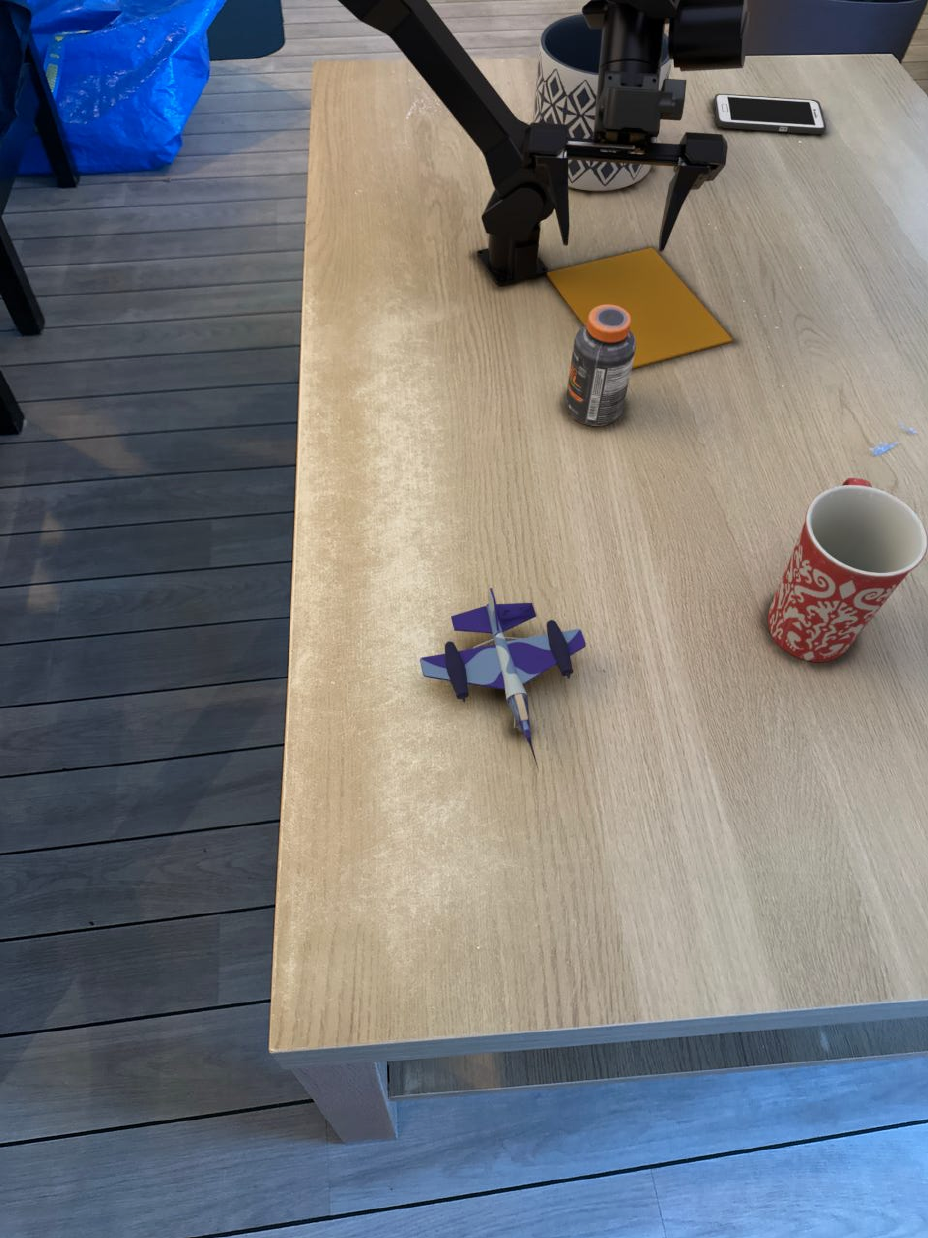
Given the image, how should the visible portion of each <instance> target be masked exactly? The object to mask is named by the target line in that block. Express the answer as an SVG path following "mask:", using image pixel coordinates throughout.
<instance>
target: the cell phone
mask: <svg viewBox="0 0 928 1238" xmlns="http://www.w3.org/2000/svg"><path fill="white" fill-rule="evenodd" d="M713 108H714V111H715V113H714V114H715V116H714V117H715V121H716V125H717V126H718V127H719V128H723V129H724V128H725V129H735V130H751V131H767V132H781V133H798V134H811V135H812V134H813V135H821V134H824V133H825V131H826V127H827V124H826V119H825V117H824V113H823V109H822V105H821V103H820V102H819V100H816V99H811V98H794V97H780V96H765V95H750V94H734V93H732V94H731V93H716V94H715V95H714V98H713Z"/></svg>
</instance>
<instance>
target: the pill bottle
mask: <svg viewBox="0 0 928 1238" xmlns="http://www.w3.org/2000/svg"><path fill="white" fill-rule="evenodd" d="M630 324H631V317H630V315H629V313H628V312H627V311H626V310H624V309H623V308H621V307H619V306H615V305H600V306H597V307H595V308H594V309H592V310H591V312H590V313H589V317H588V322H587V324H586V325H584V324H583V326H581V327H580V328H579V329H578V331H577V332H576V335H575V337H574V340H573V342H574V343H573V348H572V354H571V361H570V369H569V374H568V382H567V388H566V392H565V393H566V395H565V401H564V402H565V403H564V405H565V409H566V411H567V413H568V414H569V416H571V417H572V419H573V420H576V421H577V422H578V423H581V424H584V425H587V426H592V427H600V426H601V427H603V426H606V425H609V424H612V423H614V422H616V421H617V420H618V419H619V418H620V416H621V415H622V412H623V410H624V405H625V401H626V396H627V392H628V387H629V383H630V378H631V374H632V370H633V369H632V365H633V359H634V355H635V350H636V340H635V337H634V335H633V333H632V332H631V331H630Z"/></svg>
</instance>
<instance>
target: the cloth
mask: <svg viewBox="0 0 928 1238" xmlns="http://www.w3.org/2000/svg"><path fill="white" fill-rule="evenodd" d="M545 276H546V277H547V278H548V280H550V282H551V283H552V284H553V286H554V288H556V291H558V292H559V294H560V295H561V297H562V298H563V299H564V301H565V302H566V304H567V305H568V306H569V307H570V308H571V310H572V311H573V312H574V314H575V315H576V316H577V318H578V320H579V321H580V322H581V323H582V325H583V326H584V325H586V324H587V322H588V317H589V313H590V312H591V310H592V309H594V308H595V307H597V306H600V305H615V306H619V307H621V308H623V309H624V310H626V311H627V312H628V313H629V315H630V317H631V324H630V331H631V332H632V333H633V335H634V337H635V340H636V350H635V355H634V359H633V365H632V370H633V369H636V368H639V367H644V366H647V365H652V364H656V363H658V362H662V361H666V360H669V359H673V358H676V357H681V356H685V355H688V354H692V353H695V352H699V351H703V350H706V349H709V348H714V347H717V346H720V345H724V344H728V343H731V342H733V338H732V337H731V336H730V335H729V333H728V332H727V331H726V330H725V329H724V328H723V326H721V324H720V323H719V322H718V321H717V320H716V319H715V317H714V316H713V315H712V314H711V313H710V311H708V309H707V308H706V307H705V306H704V305H703V304H702V302H701V301H700V300H699V299H698V298H697V297H696V296H695V294H694V293H693V292H692V291H691V290H690V289H689V287H688V286H687V285H686V284H685V283H684V282H683V280H681V279H680V277H679V276H678V275H677V274H676V273H675V271H674V270H673V269H672V268H671V267H670V266H669V264H668V263H667V262H666V261H665V260H664V259H663V258H662V257H661V255H660V254H659V253H658V252H657V251H656V250H655V248H654V247H648V248H643V249H640V250H635V251H631V252H627V253H623V254H619V255H613V256H610V257H605V258H602V259H597V260H594V261H588V262H585V263H581V264H576V265H573V266H568V267H564V268H560V269H556V270H552V271H548V273H547V274H546V275H545Z"/></svg>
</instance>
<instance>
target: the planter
mask: <svg viewBox="0 0 928 1238" xmlns="http://www.w3.org/2000/svg"><path fill="white" fill-rule="evenodd" d="M601 40H602V29H590V28H589V27H588V24H587V22H586V20H585V18H584V15H583V13H578V14H572V15H568V16H566V17H562V18H560V19H557V20H555V21H553V22H552V23H551V24H549V25H548V26H547V27H545V28H544V30H543V31H542V33H541V35H540V39H539V46H538V57H537V59H538V60H537V67H536V68H537V69H536V70H537V71H536V78H535V81H536V82H535V89H534V90H535V93H534V104H533V113H532V114H533V115H532V122H534V123H538V122H539V120H540V119H544V120H545V121H546V122H547V123H550V124H567V125H568V128H567V137H571V138H587V139H593V133H594V121H595V110H596V98H597V87H598V75H599V63H600V52H601ZM672 62H673V60H670V59H669V55H668V34H666V33H665V32H664V41H663V51H662V62H661V72H660V82H659V90H662V85H663V80H664V79H670V73H671V70H672V69H671V68H672V64H673V63H672ZM657 141H658V137H654V143H657ZM601 152H615V151H601ZM629 153H631V152H629ZM633 154H644V153H633ZM568 164H569V168H568V169H569V170H568V188H571V189H575V190H581V191H590V192H607V191H608V192H609V191H613V190H614V191H615V190H619V189H623V188H626V187H629V186H631V185H633V184H635V183H638V182H639V181H640V180H642V179H643V178H644V177H645V176H646V175H647V174H648V173H649V172H650V170H651V168H652V165H644V164H628V163H612V162H596V161H580V160H568Z"/></svg>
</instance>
